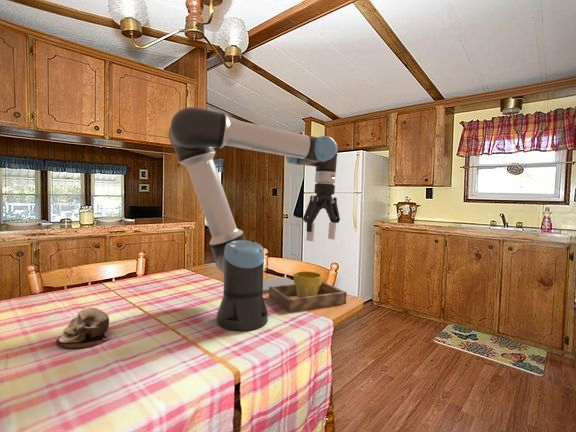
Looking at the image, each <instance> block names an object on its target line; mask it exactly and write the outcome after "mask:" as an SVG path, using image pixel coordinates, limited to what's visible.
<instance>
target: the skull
mask: <svg viewBox="0 0 576 432" xmlns="http://www.w3.org/2000/svg"><path fill="white" fill-rule="evenodd" d="M109 326H110V317H109V315H108V313H106V312H104V311H103V310H101V309H99V308H95V307H88V308H85V309H82V310H80V311H79V312H77V316H76V317H73V318H72V319H71V320H70V322H69V323H68V325H67V326H66V327H65V328H64V329H63V331H62V335H60V336H59V337H57V338H56V340H55V341H56V342H55V343H56V344H57V345H58V346H60V347H63V348H70V349H72V348H73V349H82V348H88V347H93V346H98V345H101V344H103V343H105V342H107V341H109V340H111V337H109V338H108V336H106V335H105V334H106V333H107V331H108V329H109Z"/></svg>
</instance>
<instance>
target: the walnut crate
mask: <svg viewBox="0 0 576 432" xmlns="http://www.w3.org/2000/svg"><path fill="white" fill-rule="evenodd" d="M318 293H322V294H317V295H315V296H307V297H300V298H297V297H293V298H291V297H289V296H297V292H296V286H295V284H289V285H280V286H271V287H269V293H268V298H269V299H271V300H272V301H273V302H274V303H276V304H277V303H278V304H277V305H279V306H280V305H281V306H282V307H281V306H280V307H281V308H283V309H284V308H285V309H286V310H285V309H284V310H285V311H287V312H288V313H292V312H293V311H294V312H300V311H305V310H311V309H318V308H325V307H330V306H337V305H343V304H347V298H348V297H347V294H348V292H347V291H345V290H342V289H340V288H338V287H335V286H333V285H331V284H329V283H327V282H324V281H323V280H322V283H321V285H320V286H319V290H318Z"/></svg>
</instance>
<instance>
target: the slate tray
mask: <svg viewBox="0 0 576 432" xmlns="http://www.w3.org/2000/svg"><path fill="white" fill-rule="evenodd" d="M289 284H295V283H294V279H291V278H290V277H287V276H280V277H273V278H272V277H271V278H263V294H269V287H271V286H280V285H289Z"/></svg>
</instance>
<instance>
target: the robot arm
mask: <svg viewBox="0 0 576 432" xmlns="http://www.w3.org/2000/svg"><path fill="white" fill-rule="evenodd" d="M168 139H169V143H170V144H171V146H172V148H173V149H174V150H175V154H176V156H177V159H178V162H179V164H181V165H183V166H184V167H186V169H187V172H188V174H189V177H190V181H191V183H192V185H193V188H194V190H195V194H196V196H197V199H198V202H199V205H200V207H201V211H202V213H203V216H204V218H205V222H206V224H207V226H208V229H209V232H210V235H211V239H210V241H209V246H210V249H211V251H212V253H213V261H214V264H215V266H216V268H218V270H220V271H221V272H222V274H223V296H222V299H221V301H220V304H219V308H218V309H217V313H216V324H217V325H218V326H220V327H221V328H223V329H226V330H230V331H239V332H240V331H241V332H242V331H243V332H244V331H252V330H256V329H259V328H261V327H264V326H265V325H266V324H267V323H268V319H269V318H268V317H269V313H268V309H267V305H266V302H265V299H264V295H263V294H264V293H263V279H264V269H265V268H264V267H265V264H264V263H265V262H264V261H265V251H264V250H265V249H264V247H263V246H262V244H260V243H259V242H255V241H251V240H247V239H246V237H245V234H244V231H243V230H242V229H239V228H238V227H237V225H236V222H235V219H234V216H233V214H232V210H231V208H230V205H229V200H228V198H227V196H226V193H225V190H224V187H223V184H222V181H221V178H220V176H219V175H220V174H219V173H218V169H217V167H216V164H215V161H214V157H215V155H216V150H215V148H218V149H222V148H224V147H225V146H226V147H233V148H239V149H244V150H249V151H255V152H261V153H268V154H272V155H277V156H278V155H279V156H284V157H285V160H286V162H287V163H288V164H290V165H295V166H296V165H297V166H308V167H309V166H310V167H315V174H314V182H315V184H314V189H313V190H314V191H313V193H314V194H315V195H310V197H309V202H308V204H307V207H306V210H305V213H304V214H303V217H302V220H303V221H304V223H306V241H307V242H308V241H309V242H314V240H315V239H314V238H315V227H316V226H315V224H316V223H314V221H315V220H316V218H317V216H318V215H319V213H320V212H321V210H322V209H324V210H325V212H326V213H327V216H328V219H329V221H330V222H329V223H328V234H327V235H328V238H327V239H328V240H335V239H336V230H337V224H339V223H340V221H341V217H340V212H339V207H338V201H337V200H338V199H337V197H335V196H334V197H332V195H335V192H336V191H335V190H336V185H335V183H336V173H337V172H336V171H337V160H338V144H337V142H336V141H335V140H334V139H333V138H332V137H331V136H328V135H324V136H323V135H322V136H318V137H317V136H314V135H313V136H312V135H306V134H303V133H299V132H293V131H289V130H284V129H280V128H276V127H270V126H265V125H262V124H261V125H260V124H257V123H251V122H246V121H242V120H237V119H234V118H229V117H228V115H227V114H226V113H222V112H218V111H213V110H210V109H206V108H201V107H194V106H193V107H191V106H190V107H189V106H188V107H185V108H182V109H180V110H178V111H176V113H175V114H174V115H173V116H172V118H171V121H170V126H169V130H168Z"/></svg>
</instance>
